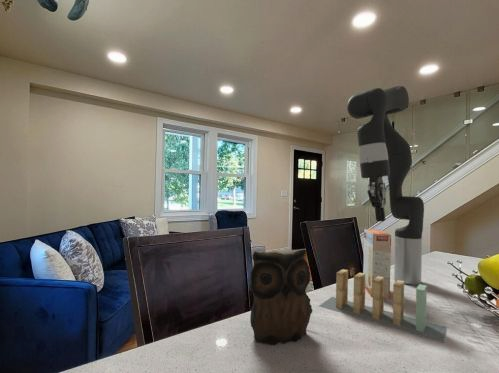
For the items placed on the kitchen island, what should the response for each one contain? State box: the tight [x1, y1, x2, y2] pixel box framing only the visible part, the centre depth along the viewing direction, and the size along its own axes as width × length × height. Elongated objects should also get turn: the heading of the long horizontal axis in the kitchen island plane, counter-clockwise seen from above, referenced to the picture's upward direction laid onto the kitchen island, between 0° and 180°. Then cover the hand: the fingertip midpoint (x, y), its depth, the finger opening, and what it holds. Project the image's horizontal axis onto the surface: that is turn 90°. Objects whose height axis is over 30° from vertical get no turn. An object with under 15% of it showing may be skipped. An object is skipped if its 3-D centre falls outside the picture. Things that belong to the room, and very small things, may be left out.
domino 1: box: [335, 268, 349, 309], centre depth 82 cm, size 5×2×10 cm, turn 141°
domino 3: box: [371, 276, 385, 320], centre depth 76 cm, size 5×2×10 cm, turn 141°
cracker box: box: [362, 228, 392, 300], centre depth 96 cm, size 14×6×21 cm, turn 168°
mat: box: [318, 296, 448, 343], centre depth 76 cm, size 10×30×1 cm, turn 51°
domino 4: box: [392, 280, 405, 326], centre depth 73 cm, size 5×2×10 cm, turn 141°
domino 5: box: [415, 283, 428, 332], centre depth 70 cm, size 5×2×10 cm, turn 141°
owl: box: [249, 248, 313, 346], centre depth 65 cm, size 13×13×20 cm
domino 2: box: [352, 272, 366, 314], centre depth 79 cm, size 5×2×10 cm, turn 141°
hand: (380, 220), depth 79 cm, fingers closed
